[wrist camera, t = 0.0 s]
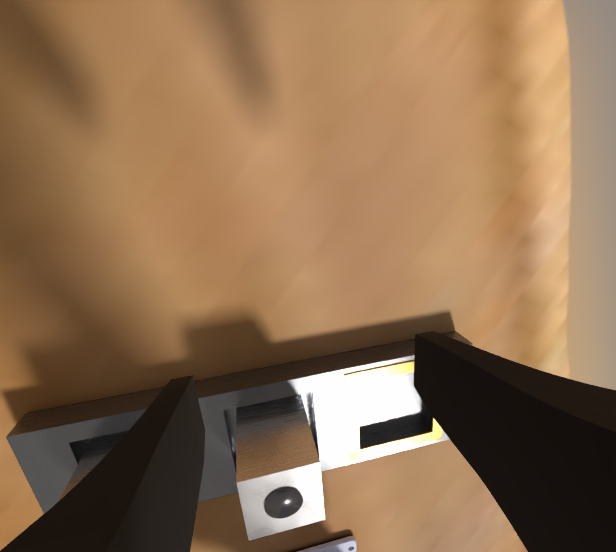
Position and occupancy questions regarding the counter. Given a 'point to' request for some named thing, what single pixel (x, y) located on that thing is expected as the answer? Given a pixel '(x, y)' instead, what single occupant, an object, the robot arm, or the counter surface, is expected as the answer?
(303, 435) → the drawer with knob
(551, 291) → the counter surface
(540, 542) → the robot arm
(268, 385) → the rail
